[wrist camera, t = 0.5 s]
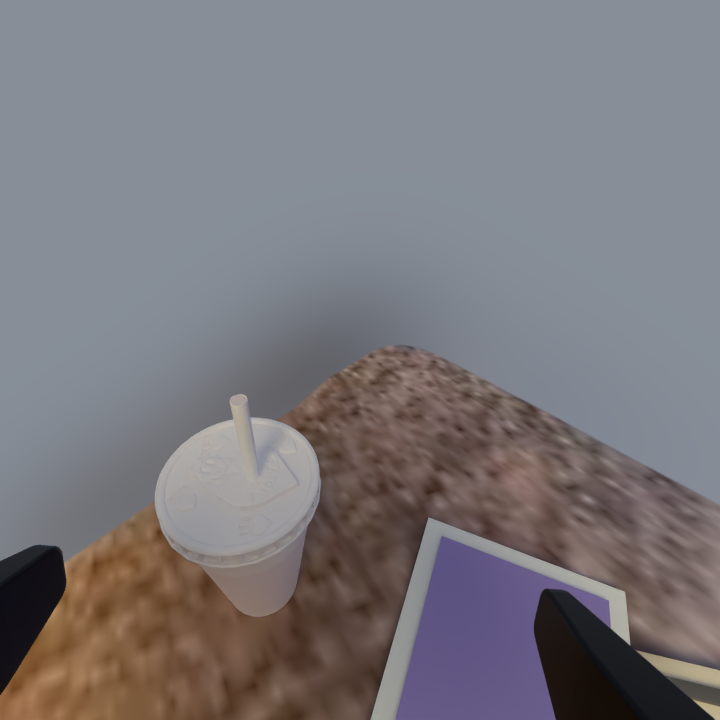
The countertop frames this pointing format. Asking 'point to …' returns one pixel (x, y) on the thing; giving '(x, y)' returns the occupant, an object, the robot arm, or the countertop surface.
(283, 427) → the smoothie
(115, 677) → the countertop surface
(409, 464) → the countertop surface
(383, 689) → the ink pad
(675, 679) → the board
